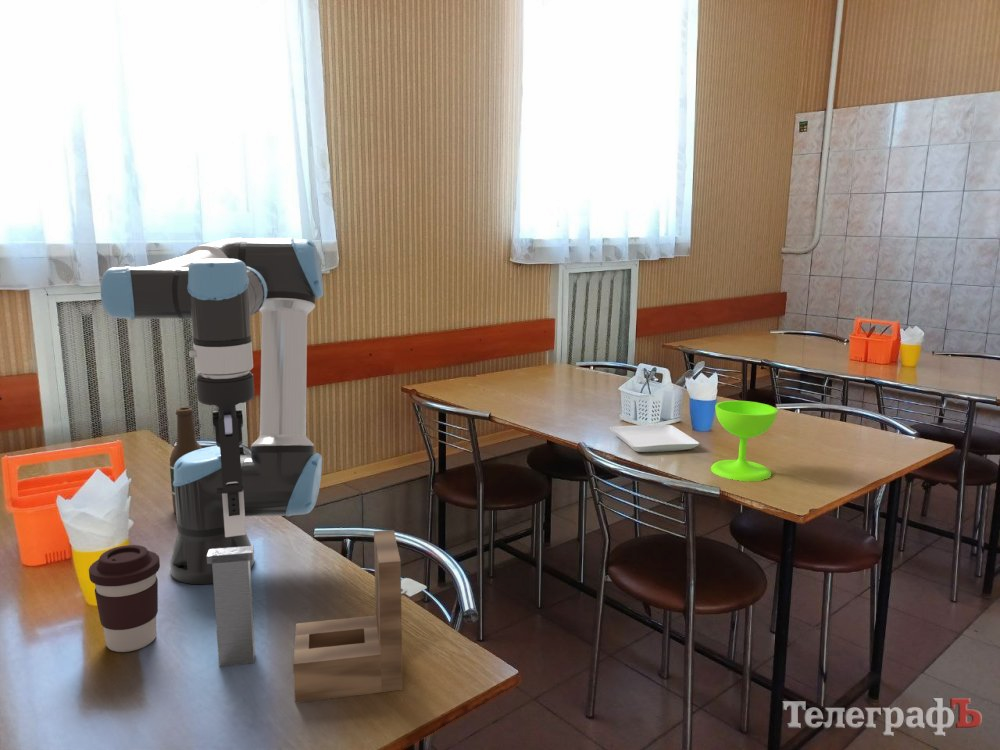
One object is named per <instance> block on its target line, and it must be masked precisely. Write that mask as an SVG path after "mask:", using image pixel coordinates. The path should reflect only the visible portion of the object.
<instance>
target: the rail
mask: <svg viewBox="0 0 1000 750" xmlns="http://www.w3.org/2000/svg"><path fill="white" fill-rule="evenodd" d="M253 557H254V558H255V546H254V545H251V546H243V547H230V548H218V549H209V551H208V554H207V564H212V568H213V583H212V584H213V593H214V610H215V623H216V625H215V626H216V639H217V654H218V655H217V657H218V667H219V668H221V667H228V666H238V665H239V666H240V665H247V664H255V658H256V646H255V645H256V644H255V641H256V640H255V629H254V628H255V627H254V610H253V592H252V589H253V588H252V575H251V574H252V573H251V568H250V560H253Z"/></svg>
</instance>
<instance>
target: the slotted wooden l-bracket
mask: <svg viewBox="0 0 1000 750" xmlns="http://www.w3.org/2000/svg"><path fill="white" fill-rule="evenodd" d="M373 543H374V544H373V546H374V549H373V550H374V595H375V601H374V602H375V603H374V605H375V615H367V616H359V617H358V616H356V617H349V618H348V617H346V618H337V619H328V620H317V621H307V622H299V623H295V633H294V634H295V637H294V648H293V649H294V650H293V664H292V665H293V685H294V686H293V689H294V703H295V704H297V703H303V702H304V703H305V702H312V701H320V700H328V699H336V698H345V697H353V696H363V695H371V694H377V693H385V692H394V691H401V690H403V643H402V640H403V638H402V636H403V633H402V628H403V626H402V595H401V592H402V591H401V580H402V577H401V576H402V571H401V570H402V566H401V565H402V564H401V563H402V561H401V557H400V553H399V548H398V543H397V538H396V535H395V529H390V530H388V529H387V530H376V531H373Z"/></svg>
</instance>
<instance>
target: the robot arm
mask: <svg viewBox="0 0 1000 750" xmlns="http://www.w3.org/2000/svg"><path fill="white" fill-rule="evenodd" d="M323 279H324V278H323V273H322V266H321V261H320V257H319V252H318V249H317V246H316V244H315V242H313V241H312V240H310V239H307V238H295V237H294V238H293V237H291V236H290V237H231V238H224V239H220V240H216V241H215V240H214V241H211V242H208V243H205V244H200V245H197V246H194V247H192V248H190V249H188V250H187V251H186V252H185V253H184V254H183V255H182V256H179V257H174V258H172V259H168V260H164V261H161V262H157V263H155V264H150V265H144V266H129V265H125V266H118V267H116V266H115V267H114V266H113V267H110V268H108V269H106V271H105V272H104V273H103V275H102V278H101V281H100V299H101V305H102V307H103V309H104V311H105V312H106V314H107V315H108V316H110V317H112V318H115V319H129V320H131V321H133V320H134V321H135V320H142V319H143V320H148V319H149V320H151V319H153V320H154V319H155V320H156V319H157V320H158V319H181V320H183V319H185V320H186V319H187V320H188V319H189V320H190V321H191V331H192V344H193V349H192V350H189V352H188V356H189V357H190V358H195V359H194V364H195V365H194V368H195V372H197V373H198V374H197V376H196V377H195V385H196V386H195V387H196V397H197V398H196V399H197V401H198V402H199V403H201V404H202V405H206V406H217V409H218V410H215V411H214V410H213V411H212V427H213V428H212V429H213V430H214V432H215V433H214V434H215V444H216V445H212V446H207V447H202V449H198V450H195V451H192V452H190V453H187V454H185V455H183V456H182V457H180V458H179V459H178V460H177V461H176V463H175V465H174V481H173V486H174V491H175V503H176V512H175V514H176V524H177V525H176V526H177V536H176V538H175V543H174V547H173V549H172V550H173V551H172V553H171V558H170V561H169V562H170V563H169V566H170V567H169V568H170V574H171V576H172V578H173V579H175V581H178V582H181V583H184V584H190V585H209V584H214V583H213V568H212V564H207V554H208V551H209V549H218V548H230V547H243V546H252V544H251V541H250V539H249V537H248V535H247V529H246V528H247V527H246V517H277V516H279V517H281V516H282V517H283V516H286V517H291V516H299V515H307V514H309V513H311V512H312V510H313V509H314V508H315V506H316V503H317V501H318V496H319V493H320V486H321V481H322V471H323V466H322V465H323V457H322V455H321V454H320V453H318V452H315V447H314V445H315V444H314V443H313V442H312V441H311V440H310V439H309V438H308V437H307V376H308V375H307V372H308V371H307V369H308V368H307V366H308V363H307V362H308V361H307V358H308V357H307V356H308V355H307V354H308V353H307V352H308V350H307V349H308V346H307V345H308V316H309V314H310V313H311V312H312V311H313V310H314V309H315V307H316V299H320V298H322V297H324V281H323ZM258 312H260V314H261V349H260V350H261V351H260V353H261V355H260V404H259V405H260V407H259V410H260V412H259V415H260V416H259V436H258V438H257V439H256V440H255V441H254V442H253V443H251V445H250V446H251V447H250V451H251V452H250V453H251V454H245V451H244V446H241V445H242V444H243V431H242V430H243V429H242V428H243V426H244V418H243V417H244V416H243V409H237V408H236V406H237V405H239V404H245V403H247V402H250V401H251V400H252V399H253V398H254V397H255V383H254V379H255V377H254V373H252V372H251V370H252V369H253V368H254V357H253V343H252V342H253V341H252V335H251V316H254V315H255V314H257V313H258ZM240 446H241V447H240ZM254 564H255V556H254V557H253V560H250V569H252V567H253V566H254Z"/></svg>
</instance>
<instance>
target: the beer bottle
mask: <svg viewBox="0 0 1000 750" xmlns="http://www.w3.org/2000/svg"><path fill="white" fill-rule="evenodd" d="M193 413H194V409H193V408H192V407H188V406H184V407H178V408H177V409H176V410H175V415H176V417H177V418H176V419H177V420H176V427H177V429H176V432H177V433H176V434H177V436H176V437H177V438H176V444H175V446H174V448H173V449H172V451H171V454H170V458H169V471H170V487H171V497H172V507H173V511H174V513H176V503H175V491H174V486H173V481H174V465H175V463H176V461H177V460H178V459H179V458H180V457H182V456H183V455H185V454H187V453H190V452H192V451H195V450H198V449H202V448H203V447H202V446H201V445H200V443H198V439H197V437H196V431H195V425H194V424H195V423H194V416H193Z"/></svg>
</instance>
